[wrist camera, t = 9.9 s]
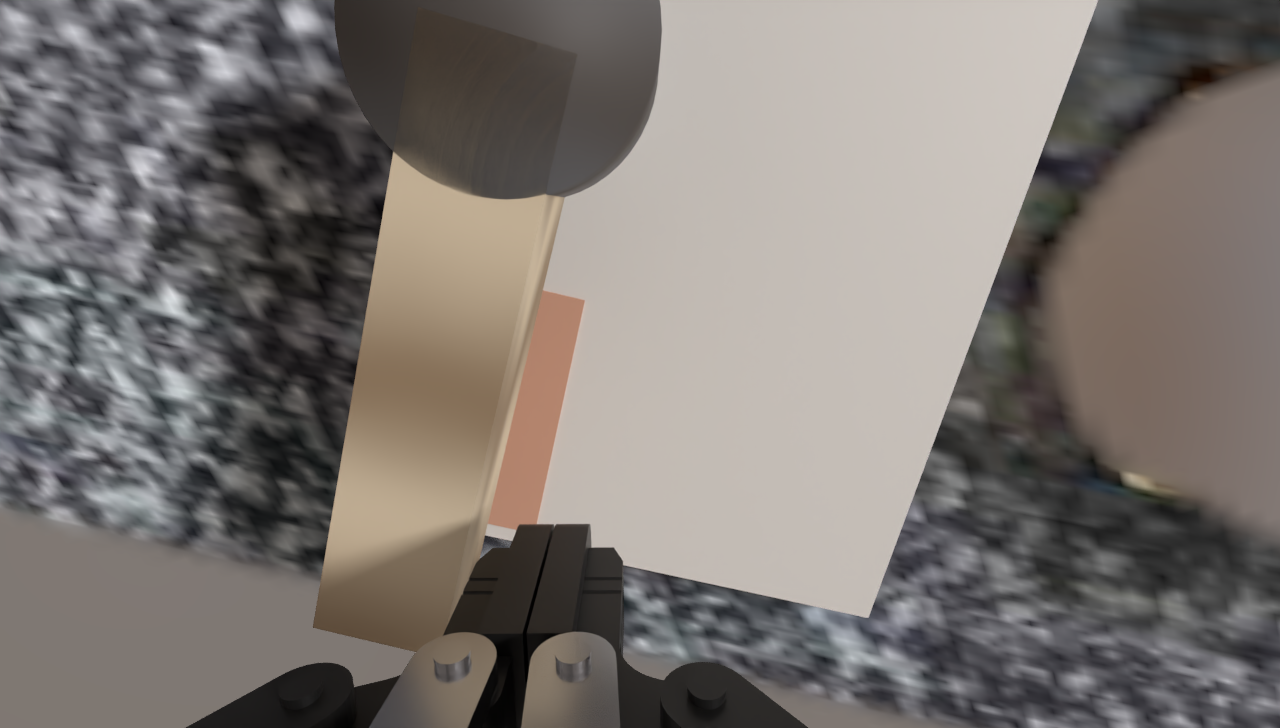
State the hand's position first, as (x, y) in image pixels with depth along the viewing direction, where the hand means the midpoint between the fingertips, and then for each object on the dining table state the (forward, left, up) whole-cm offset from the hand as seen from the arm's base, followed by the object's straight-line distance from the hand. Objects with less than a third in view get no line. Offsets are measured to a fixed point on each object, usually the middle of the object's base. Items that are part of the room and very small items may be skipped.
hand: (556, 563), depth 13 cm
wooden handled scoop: (-3, +5, -4) cm, 7 cm away
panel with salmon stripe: (+2, +7, -9) cm, 11 cm away
